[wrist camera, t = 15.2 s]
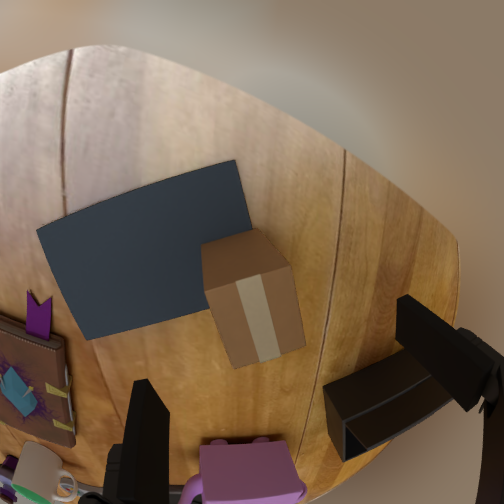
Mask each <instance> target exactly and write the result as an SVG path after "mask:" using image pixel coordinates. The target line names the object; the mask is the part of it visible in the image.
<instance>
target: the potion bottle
mask: <svg viewBox="0 0 504 504" xmlns="http://www.w3.org/2000/svg"><path fill="white" fill-rule="evenodd" d="M7 456H8V457H7V458H6V459H5V461H4V462H3V463H2V464H0V481H1V482H2V483H3V484H4V485H3V488H2V487H0V498H1V499H2V500H3V501H5V502H7V503H8V504H13V502H17V497H16V496H15V492H17V491H16V490H15V489H14V488H13V487H12V486H11V483H12V480H13V476H14V473H15V470H16V467H17V464H18V461H19V459H18V458H16V457H14V456H12V455H7Z"/></svg>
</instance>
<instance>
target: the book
mask: <svg viewBox="0 0 504 504" xmlns="http://www.w3.org/2000/svg"><path fill="white" fill-rule="evenodd" d="M50 322H51V298H49V299H48V300H47V301H46V302H44V303H43V304H42V305H40V306H39V307H38V305H37V304H36V302H35V301H34V299H33V298H32V296H31V295H30V293H29V292H28V290H27V319H26V325H25V324H22V323H19V322H17V321H14V320H11V319H9V318H6V317H4V316H2V315H0V424H3V425H6V424H7V425H9V426H11V427H13V428H16V429H18V430H20V431H23V432H25V433H28V434H30V435H33V436H36V437H38V438H41V439H44V440H47V441H49V442H52V443H55V444H58V445H62V446H65V447H68V448H72V447H74V446H75V445H76V439H75V425H74V421H75V417H76V412H75V411H72V405H71V397H70V386H71V383H72V376H70V375H68V369H67V365H66V362H65V344H64V340H63V338H62V337H59V336H56V335H53V334H50Z"/></svg>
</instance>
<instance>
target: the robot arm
mask: <svg viewBox="0 0 504 504" xmlns="http://www.w3.org/2000/svg"><path fill="white" fill-rule="evenodd" d="M395 339H396V340H397V341H398V342H399V343H400V344H401V345H402V346H403V347H404V348H405V349H406V350H407V351H408V352H409V353H410V354H411V355H412V356H413V357H414V358H415V359H416V360H417V361H418V362H419V363H420V364H421V365H422V366H423V367H424V368H425V369H426V370H427V371H428V372H429V373H430V374H431V375H432V376H433V377H434V379H435V380H436V381H437V382H438V383H439V384H440V385H441V386H442V387H443V388H444V389H445V390H446V391H447V392H448V393H449V394H450V395H451V396H452V397H453V398H454V399H455V400H456V402H457V403H458V404H459V405H460V406H461V407H462V408H463V409H464V410H465V411H466V412H468V411H469V410H470V409H472V408H473V407H474V406H475V405H476V404H478V402H479V399H480V397H481V395H482V396H483V397H484V398H485V399H484V402H483V403H482V405H481V407H480V410H479V413H481V412H482V410H483V408H484V429H483V450H482V463H481V471H480V479H479V486H478V493H477V498H476V503H475V504H504V357H503V356H502V355H501V354H499V353H498V352H497V351H495V350H494V349H493V348H492V347H491V346H489V345H488V344H487V343H485V342H483V341H482V339H480V338H479V337H477V336H476V335H475V334H474V333H473V332H471V331H470V330H467V329H464V328H459V329H458V330H455V329H454V328H453V327H451V326H450V325H449V324H448V323H446V322H445V321H444V320H442V319H441V318H440V317H438V316H437V315H436V314H434V313H433V312H432V311H430V310H429V309H428V308H426V307H425V306H424V305H422V304H421V303H420V302H418V301H417V300H415V299H414V298H413V297H411V296H410V295H409V294H407V295H405V296H402V297H400V298H398V299H397V315H396V336H395ZM169 424H170V412H169V411H168V409H167V408H166V406H165V405H164V403H163V402H162V400H161V399H160V397H159V396H158V394H157V393H156V391H155V390H154V388H153V387H152V385H151V383H150V382H149V380H148V379H142V380H137V381H134V383H133V388H132V393H131V398H130V403H129V409H128V414H127V420H126V426H125V432H124V438H123V444H113V446H112V448H111V449H110V451H109V453H108V458H107V464H106V472H105V477H104V484H103V492H102V495H101V494H99V493H97V492H87V493H85V494H83V495H82V496H81V497H80V499H79V501H78V504H170V502H169Z"/></svg>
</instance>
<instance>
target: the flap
mask: <svg viewBox="0 0 504 504" xmlns="http://www.w3.org/2000/svg"><path fill="white" fill-rule="evenodd" d="M453 399H454V398H453V397H452V396H451V395H450V394H449V393H448V392H447V391H446V390H445V389H444V388H443V387H442V386H441V385H440V384H439V383H438V382H437V381H436V380H435V379H434V377H431V378H429V379H428V380H426V381H425V382H423V383H421V384H420V385H418V386H416V387H415V388H413V389H411V390H410V391H408V392H406V393H404V394H403V395H401V396H399V397H397V398H395V399H393V400H392V401H390V402H388V403H386V404H384V405H382V406H380V407H378V408H376V409H374V410H372V411H370V412H368V413H366V414H364V415H362V416H359V417H357V418H355V419H353V420H351V421H348V422H346V423H345V425H346V427H347V428H348V429H349V430H350V431H351V432H352V434H353V435H354V436H355V437H356V438H357V439H358V441H359V442H360V443H361V444H362V445H363V446H364V447H365V449H366V450H367V451H368V450H370V449H372V448H374V447H376V446H378V445H380V444H382V443H384V442H386V441H388V440H390V439H392V438H393V437H395V436H397V435H399V434H401V433H402V432H404V431H406V430H408V429H409V428H411V427H413V426H414V425H416V424H418V423H419V422H421V421H422V420H424V419H426V418H427V417H429V416H430V415H432V414H433V413H435V412H436V411H437V410H439V409H441V408H442V407H443V406H445V405H446V404H448V403H449V402H450V401H452V400H453Z"/></svg>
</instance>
